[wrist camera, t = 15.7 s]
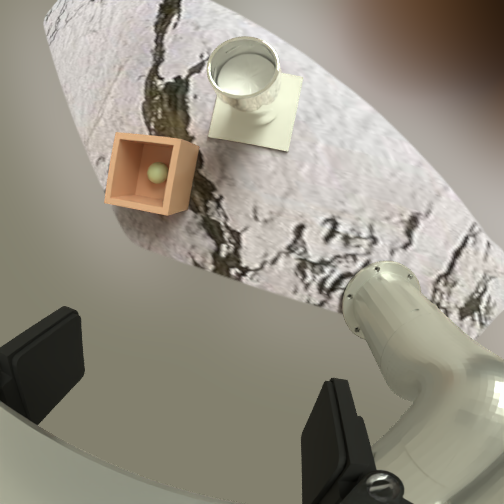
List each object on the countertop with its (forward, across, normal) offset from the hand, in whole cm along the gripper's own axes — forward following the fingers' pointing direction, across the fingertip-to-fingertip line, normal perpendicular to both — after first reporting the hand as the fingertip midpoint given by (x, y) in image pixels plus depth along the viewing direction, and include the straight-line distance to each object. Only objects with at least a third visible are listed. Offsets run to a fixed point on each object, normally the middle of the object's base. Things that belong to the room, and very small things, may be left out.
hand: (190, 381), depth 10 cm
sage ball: (+31, +15, -6) cm, 35 cm away
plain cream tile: (+33, +4, -17) cm, 38 cm away
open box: (+33, +15, -6) cm, 37 cm away
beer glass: (+33, +4, -17) cm, 37 cm away
